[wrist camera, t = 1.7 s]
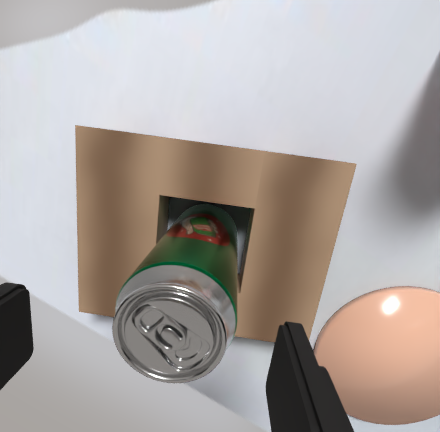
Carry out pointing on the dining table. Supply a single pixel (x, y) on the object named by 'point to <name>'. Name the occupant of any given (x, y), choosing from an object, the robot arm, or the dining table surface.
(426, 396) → the peach domed disc
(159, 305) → the soda can
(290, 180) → the pocket board
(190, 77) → the dining table surface
